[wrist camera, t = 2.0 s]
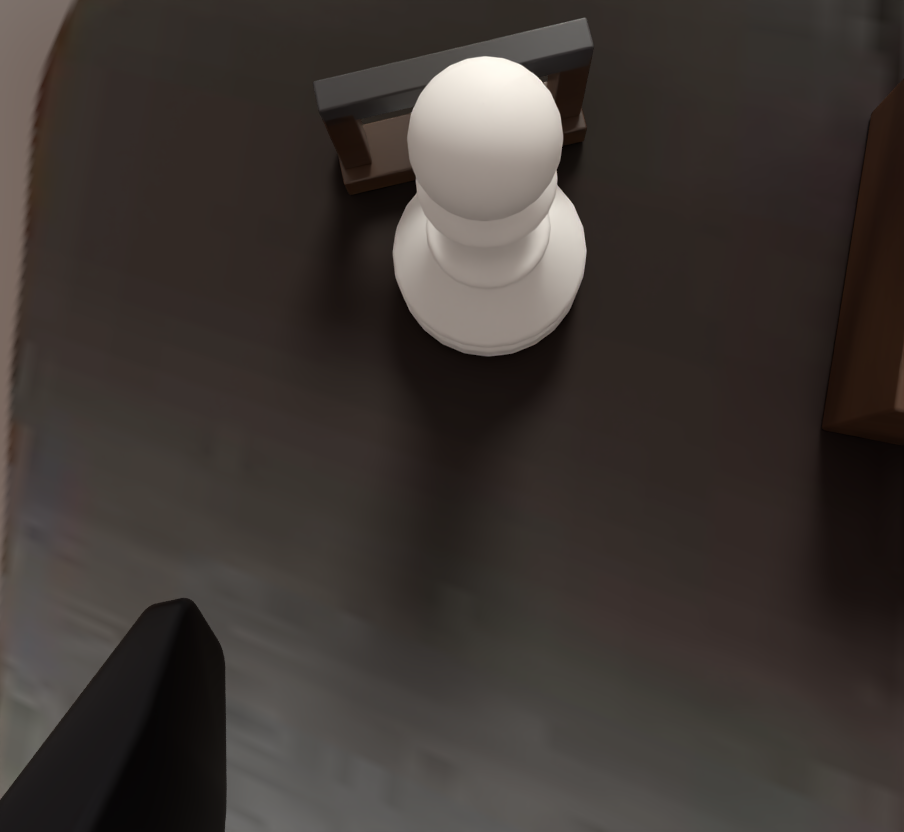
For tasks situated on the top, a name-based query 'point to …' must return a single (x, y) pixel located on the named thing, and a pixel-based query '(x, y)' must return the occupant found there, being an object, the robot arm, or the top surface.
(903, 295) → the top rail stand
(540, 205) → the chess pawn
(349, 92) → the low rail
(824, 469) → the top surface
